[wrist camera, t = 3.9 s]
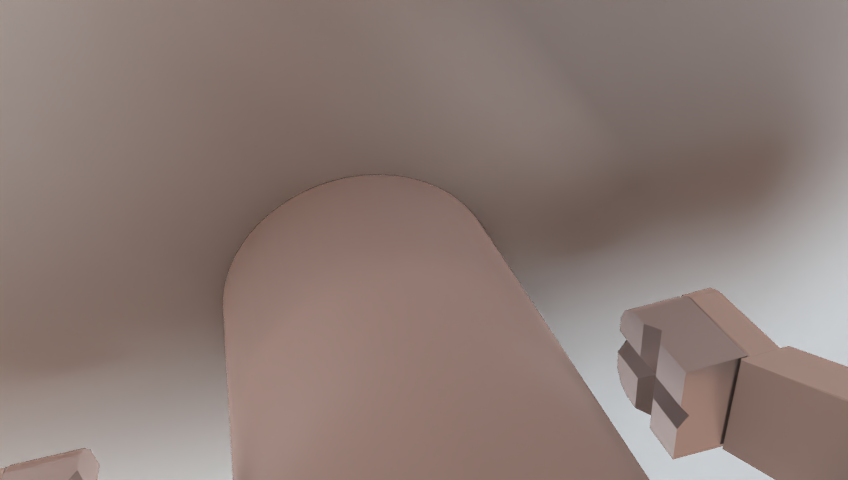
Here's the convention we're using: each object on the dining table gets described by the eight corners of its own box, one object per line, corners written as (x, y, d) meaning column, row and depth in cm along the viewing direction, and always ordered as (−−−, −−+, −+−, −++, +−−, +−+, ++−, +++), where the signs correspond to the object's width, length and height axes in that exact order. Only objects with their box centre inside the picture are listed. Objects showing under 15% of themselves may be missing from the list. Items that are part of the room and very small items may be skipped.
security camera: (489, 148, 12) (830, 561, 6) (498, 365, 15) (737, 814, 8) (188, 210, 11) (184, 783, 5) (257, 428, 14) (313, 982, 8)
